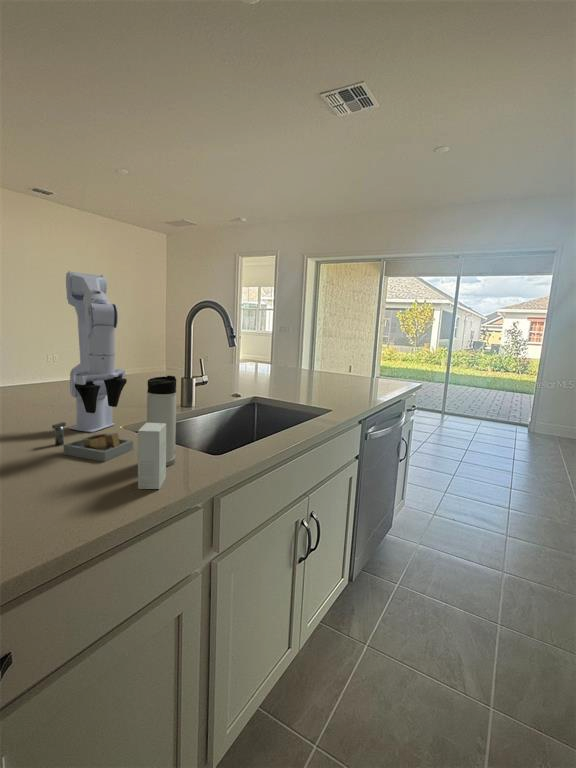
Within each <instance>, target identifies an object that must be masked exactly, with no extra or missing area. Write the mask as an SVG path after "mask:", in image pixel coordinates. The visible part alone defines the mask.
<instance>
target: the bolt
mask: <svg viewBox="0 0 576 768" xmlns="http://www.w3.org/2000/svg"><path fill="white" fill-rule="evenodd" d="M66 426H67V424H66V422H64V421H62V422H59V423H55V424H52V426H51V427H52V428H51V429H54V441H55V443H54V445H55V446H57V445H58V446H59V445H60V446H64V445H65V444H64V442H65V441H64V435H65V434H64V427H66Z"/></svg>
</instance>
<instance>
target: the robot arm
mask: <svg viewBox="0 0 576 768" xmlns="http://www.w3.org/2000/svg"><path fill="white" fill-rule="evenodd" d="M107 285H108V284H107V277H105V275H104V274H91V273H83V272H82V273H81V272H73V271H70V270H69V271H68V272H66V275H65V290H66V299H67V301H68V302H67V303H68V305H70V306H72V307H74V309H75V313H76V315H77V316H76V317H77V329H78V332H77V333H78V345H79V348H78V349H79V361H80V362H79V364H76V366H74V367H73V368H71V370H70V373H69V374H70V375H69V391H70V392H69V393H70V395H71V397H72V398H75V405H76V406H75V408H76V409H75V411H76V413H75V414H76V415H75V416H76V417H75V418H76V424H75V425H72V426H69V430H75V431H80V432H86V433H95V432H98V431H101V430H105V429H107V428H109V427H113V426H115V424H116V423H114V422H113V408H117V407H118V404H119V400H120V396H121V394H122V391H123V389H124V387H125V386H126V384H127V382H128V381H127V380H128V379H127V378H125V377H126V370H125V369H122V368H117V369H116V365H115V363H116V361H115V359H116V357H115V356H116V354H115V353H116V352H115V351H116V348H115V347H116V346H115V343H116V341H115V339H116V338H115V330H116V329H117V327H118V322H119V319H118V318H119V316H118V308H117V307H118V306H117V305H116V304H115V303H110V300H109V298H108V296H107V289H108V288H107V287H108V286H107Z"/></svg>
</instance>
